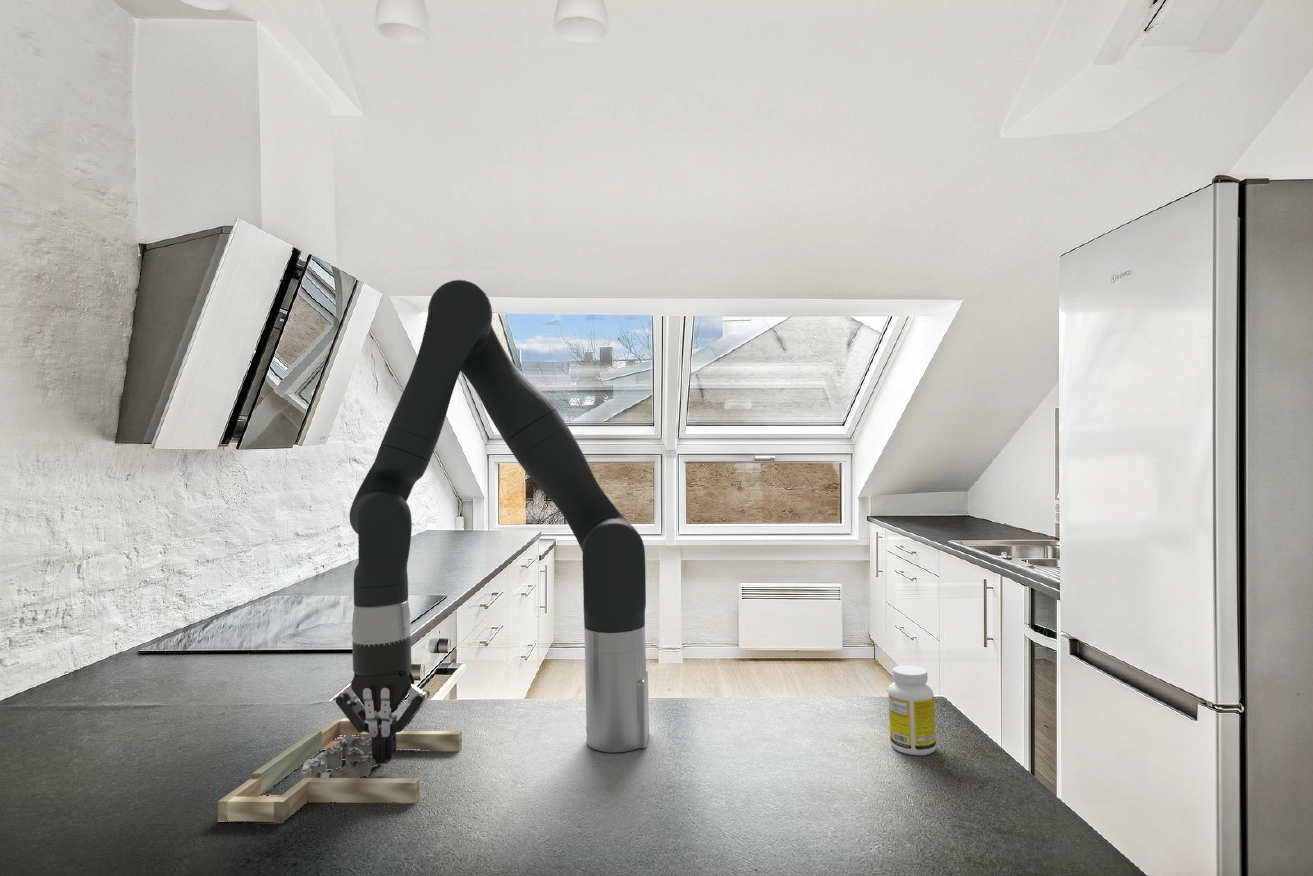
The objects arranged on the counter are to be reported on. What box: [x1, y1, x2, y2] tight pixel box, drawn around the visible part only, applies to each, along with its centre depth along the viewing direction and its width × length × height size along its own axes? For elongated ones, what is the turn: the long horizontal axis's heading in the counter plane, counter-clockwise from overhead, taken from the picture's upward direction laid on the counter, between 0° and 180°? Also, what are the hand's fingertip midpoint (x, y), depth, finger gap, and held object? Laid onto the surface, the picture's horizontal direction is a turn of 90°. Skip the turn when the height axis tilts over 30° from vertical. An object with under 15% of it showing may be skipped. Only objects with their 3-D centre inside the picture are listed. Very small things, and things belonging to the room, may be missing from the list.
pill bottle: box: [887, 665, 937, 756], centre depth 98 cm, size 6×6×11 cm
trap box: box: [217, 717, 463, 824], centre depth 94 cm, size 22×26×3 cm
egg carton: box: [301, 734, 383, 778], centre depth 94 cm, size 11×8×4 cm
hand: (384, 761), depth 94 cm, fingers closed
